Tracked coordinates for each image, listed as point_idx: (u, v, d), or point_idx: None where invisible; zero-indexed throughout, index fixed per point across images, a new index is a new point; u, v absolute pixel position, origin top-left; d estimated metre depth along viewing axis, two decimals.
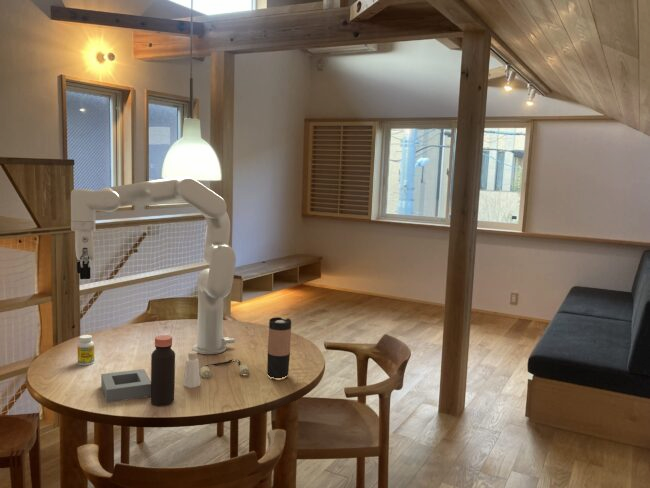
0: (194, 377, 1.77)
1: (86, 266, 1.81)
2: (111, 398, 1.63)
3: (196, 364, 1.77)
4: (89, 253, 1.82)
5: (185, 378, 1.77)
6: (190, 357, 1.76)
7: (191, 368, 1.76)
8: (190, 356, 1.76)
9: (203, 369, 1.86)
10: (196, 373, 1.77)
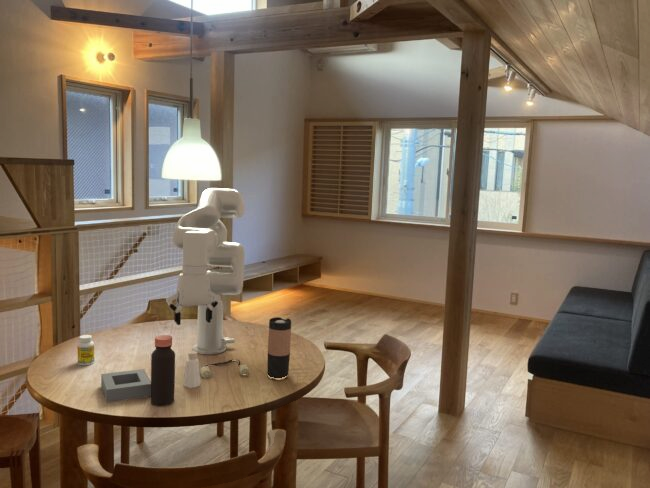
0: (194, 377, 1.77)
1: None
2: (111, 398, 1.63)
3: (196, 364, 1.77)
4: None
5: (185, 378, 1.77)
6: (190, 357, 1.76)
7: (191, 368, 1.76)
8: (190, 356, 1.76)
9: (203, 369, 1.86)
10: (196, 373, 1.77)
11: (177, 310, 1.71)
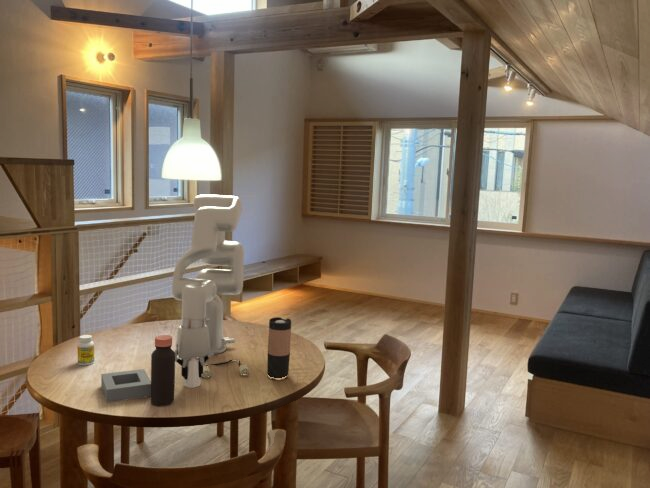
0: (194, 377, 1.77)
1: None
2: (111, 398, 1.63)
3: (196, 364, 1.77)
4: None
5: None
6: None
7: (191, 368, 1.76)
8: None
9: (203, 369, 1.86)
10: (196, 373, 1.77)
11: (184, 365, 1.75)
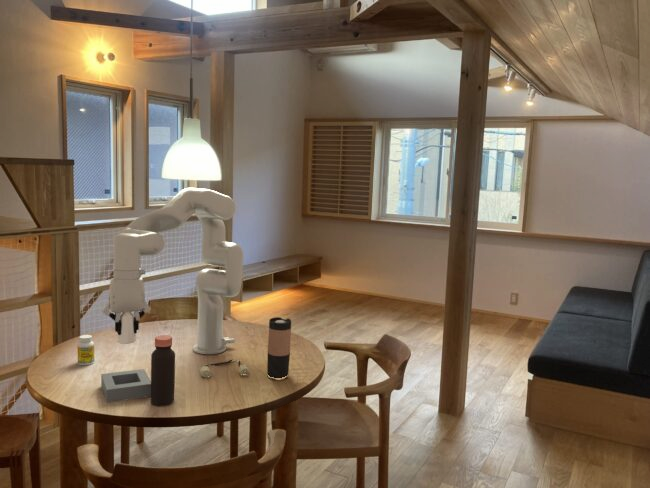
0: (128, 333, 1.67)
1: None
2: (111, 398, 1.63)
3: (130, 319, 1.67)
4: None
5: None
6: None
7: (125, 322, 1.66)
8: None
9: (203, 369, 1.86)
10: (131, 328, 1.67)
11: (117, 319, 1.65)
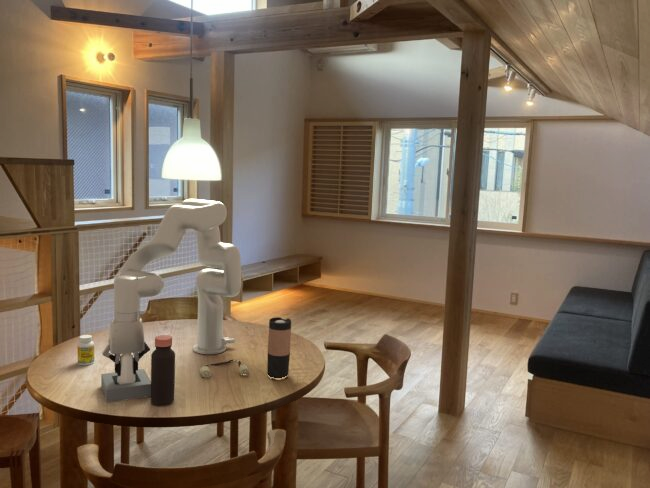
0: (128, 374, 1.68)
1: None
2: (111, 398, 1.63)
3: (130, 360, 1.69)
4: None
5: None
6: None
7: (124, 364, 1.68)
8: None
9: (203, 369, 1.86)
10: (130, 369, 1.69)
11: (117, 361, 1.67)
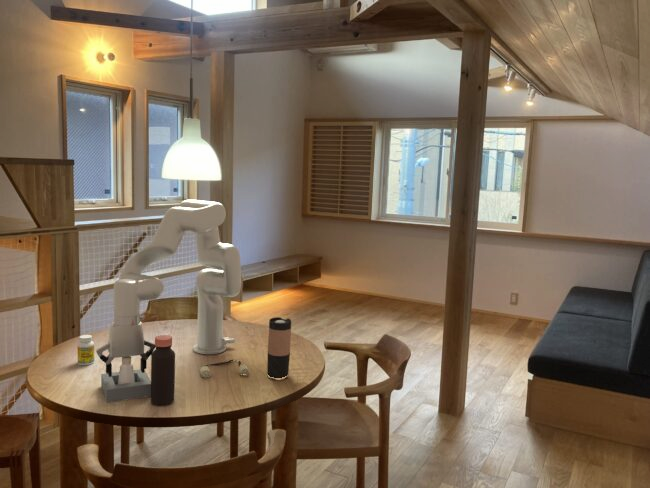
0: None
1: None
2: (111, 398, 1.63)
3: (130, 369, 1.69)
4: None
5: (118, 384, 1.69)
6: (123, 362, 1.69)
7: (124, 373, 1.68)
8: (123, 361, 1.69)
9: (203, 369, 1.86)
10: (130, 379, 1.69)
11: (108, 362, 1.66)
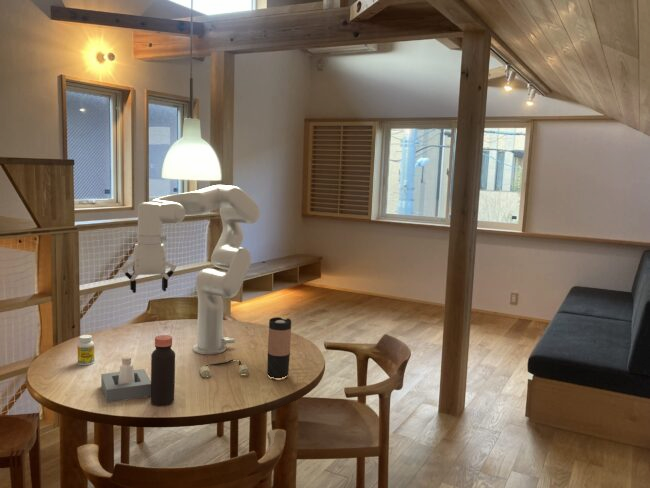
0: None
1: None
2: (111, 398, 1.63)
3: (130, 369, 1.69)
4: None
5: (118, 384, 1.69)
6: (123, 362, 1.69)
7: (124, 373, 1.68)
8: (123, 361, 1.69)
9: (203, 369, 1.86)
10: (130, 379, 1.69)
11: (132, 278, 1.78)
